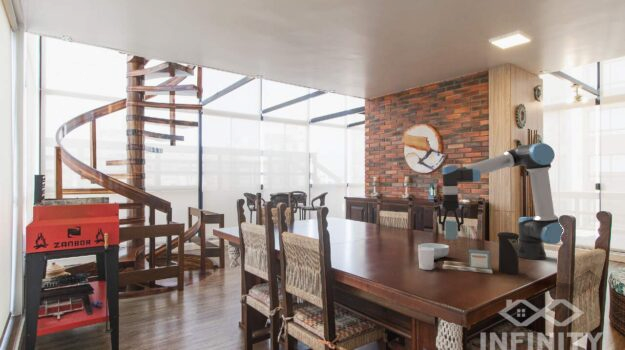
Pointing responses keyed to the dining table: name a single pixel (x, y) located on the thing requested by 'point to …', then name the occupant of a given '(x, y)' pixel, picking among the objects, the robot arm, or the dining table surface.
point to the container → (508, 253)
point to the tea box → (451, 229)
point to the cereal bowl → (437, 249)
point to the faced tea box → (479, 259)
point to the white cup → (426, 258)
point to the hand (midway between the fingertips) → (451, 237)
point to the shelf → (464, 267)
